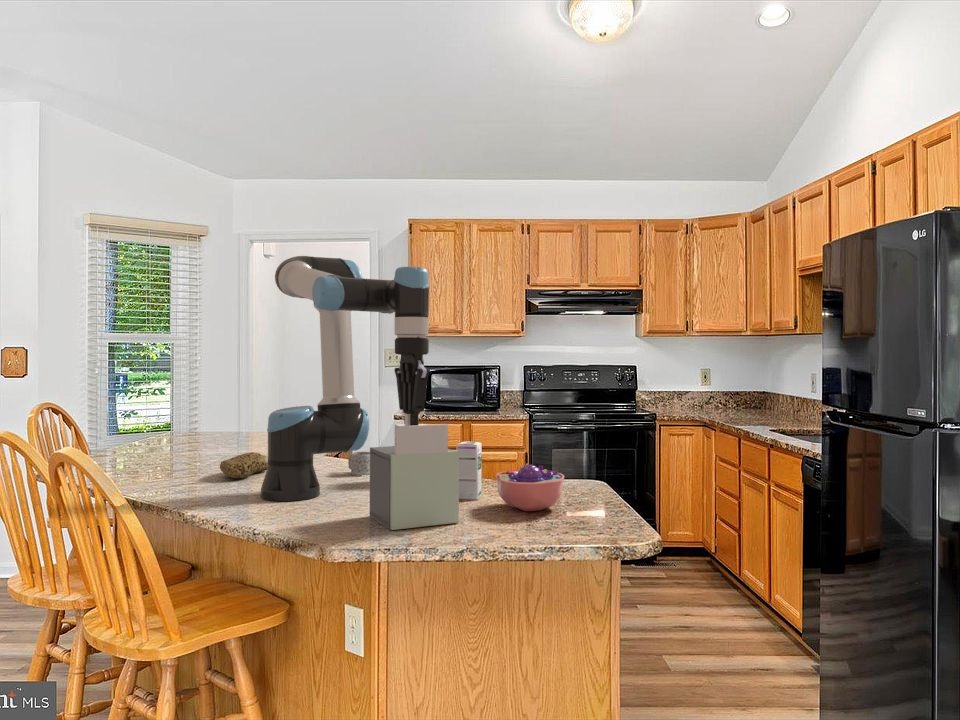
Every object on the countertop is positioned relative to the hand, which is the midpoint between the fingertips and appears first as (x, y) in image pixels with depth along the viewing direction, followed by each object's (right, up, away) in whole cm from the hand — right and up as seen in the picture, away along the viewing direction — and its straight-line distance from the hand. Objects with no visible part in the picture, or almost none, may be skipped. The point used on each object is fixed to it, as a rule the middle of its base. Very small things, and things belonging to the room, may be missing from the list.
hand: (411, 442), depth 156 cm
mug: (-23, -18, +64) cm, 70 cm away
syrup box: (+12, -18, +29) cm, 36 cm away
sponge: (-57, -18, +59) cm, 84 cm away
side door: (+3, -18, -3) cm, 18 cm away
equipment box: (0, -18, +5) cm, 19 cm away
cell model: (+28, -18, +16) cm, 37 cm away
